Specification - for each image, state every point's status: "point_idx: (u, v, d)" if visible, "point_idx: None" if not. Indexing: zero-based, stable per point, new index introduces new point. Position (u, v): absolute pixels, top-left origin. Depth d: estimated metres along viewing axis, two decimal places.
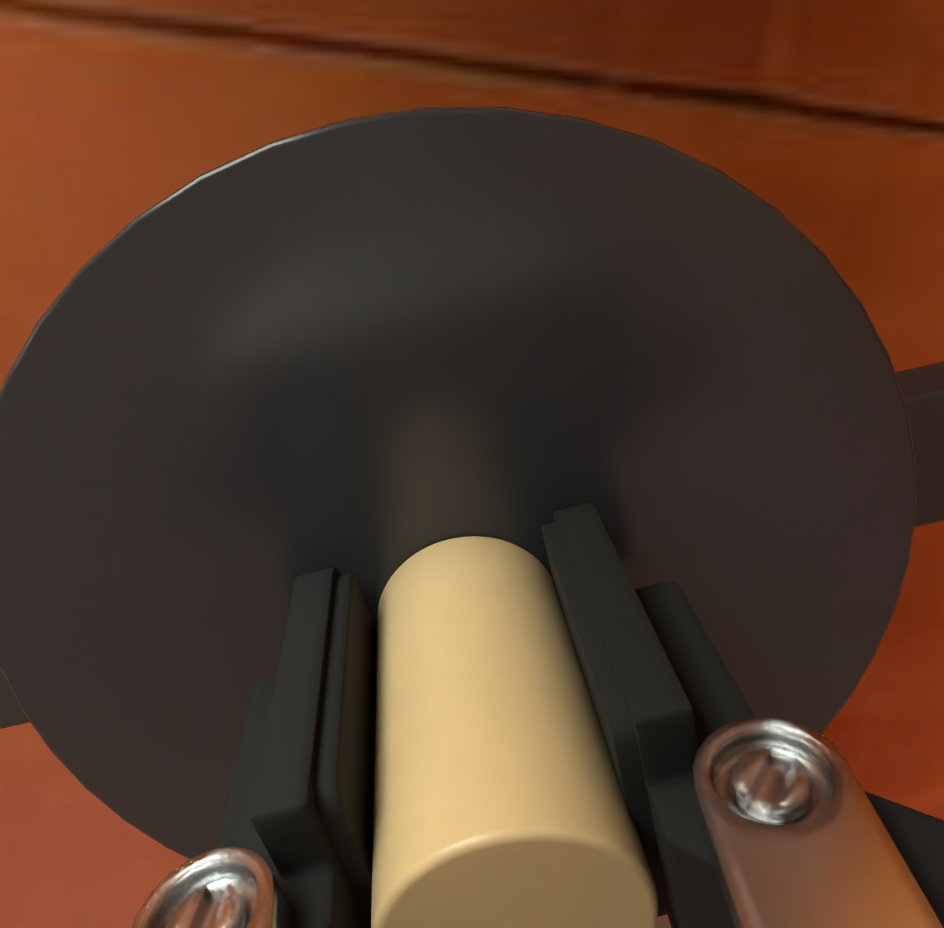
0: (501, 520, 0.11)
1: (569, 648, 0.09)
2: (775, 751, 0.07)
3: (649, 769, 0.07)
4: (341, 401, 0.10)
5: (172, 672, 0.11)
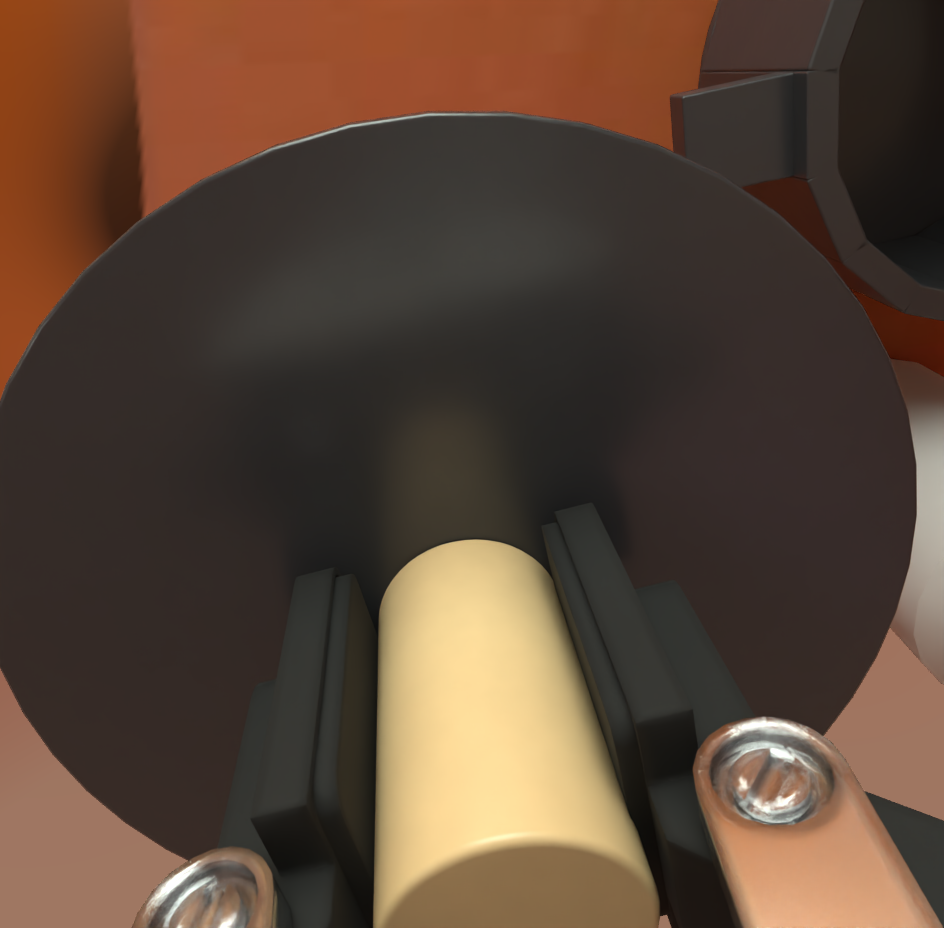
0: (502, 523, 0.11)
1: (570, 652, 0.09)
2: (775, 751, 0.07)
3: (649, 769, 0.07)
4: (342, 405, 0.10)
5: (173, 675, 0.11)
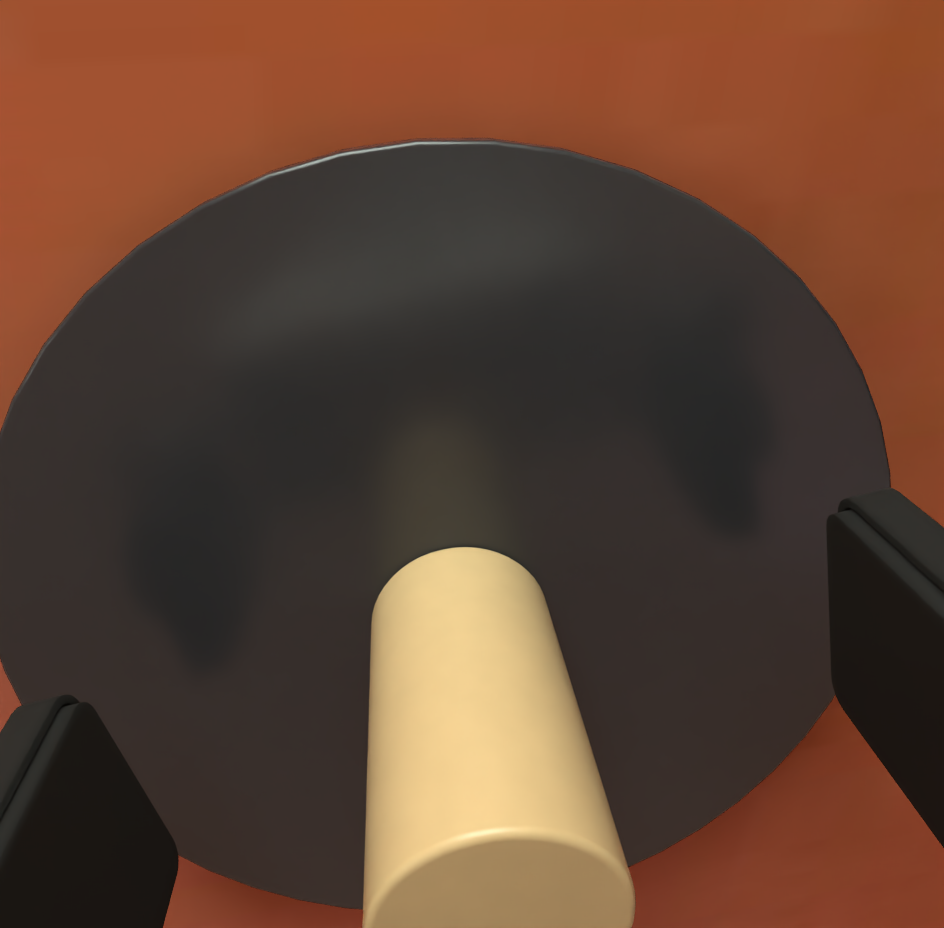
0: (490, 531, 0.11)
1: (555, 655, 0.10)
2: None
3: None
4: (336, 418, 0.10)
5: (173, 679, 0.12)
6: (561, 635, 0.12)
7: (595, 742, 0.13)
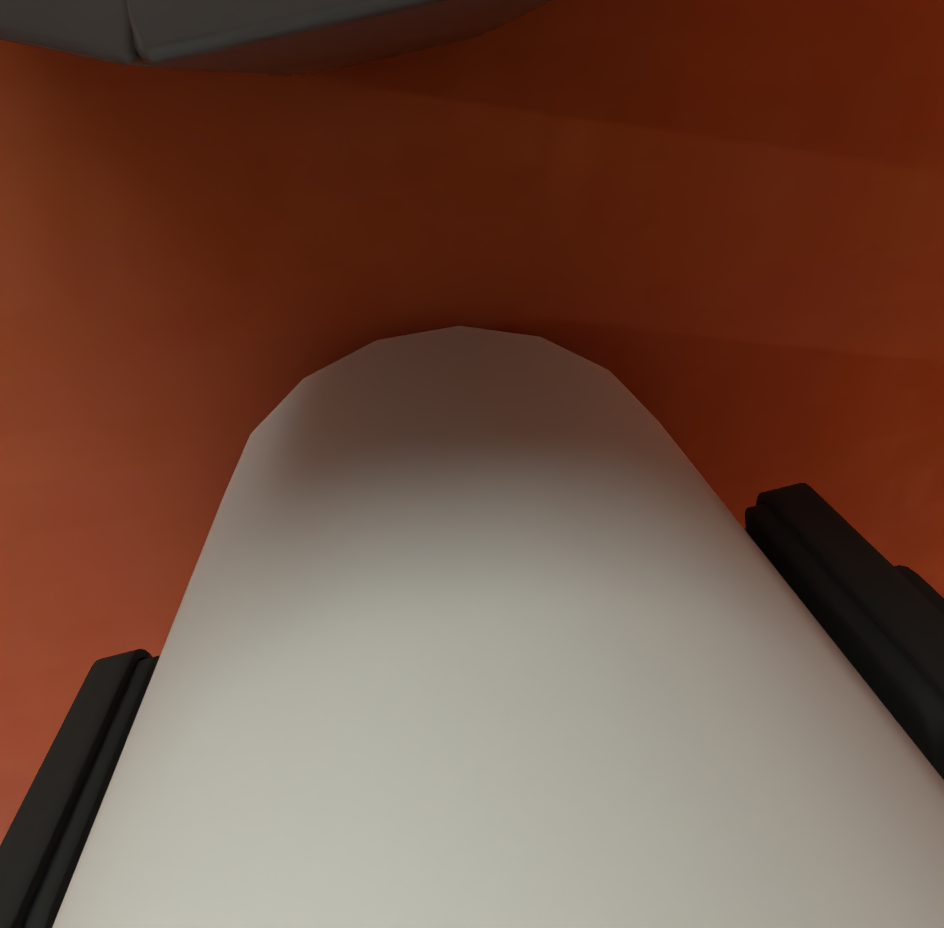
0: None
1: None
2: None
3: None
4: None
5: None
6: None
7: None
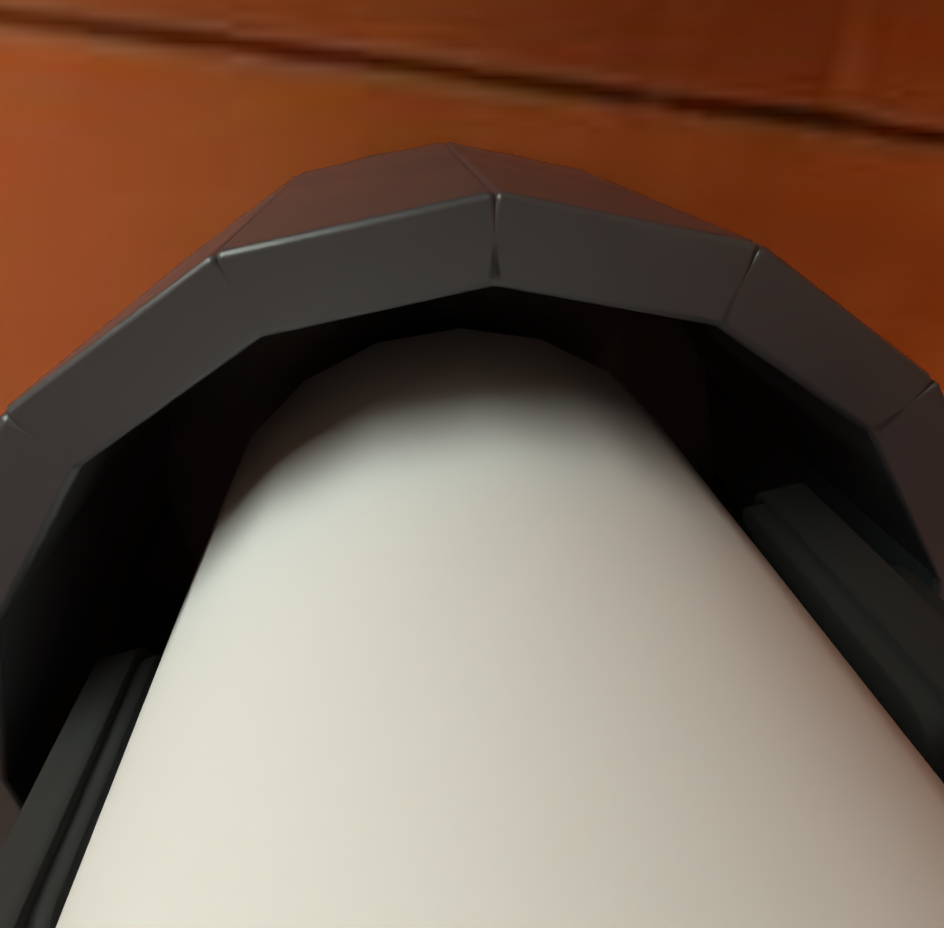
0: None
1: None
2: None
3: None
4: None
5: None
6: None
7: None
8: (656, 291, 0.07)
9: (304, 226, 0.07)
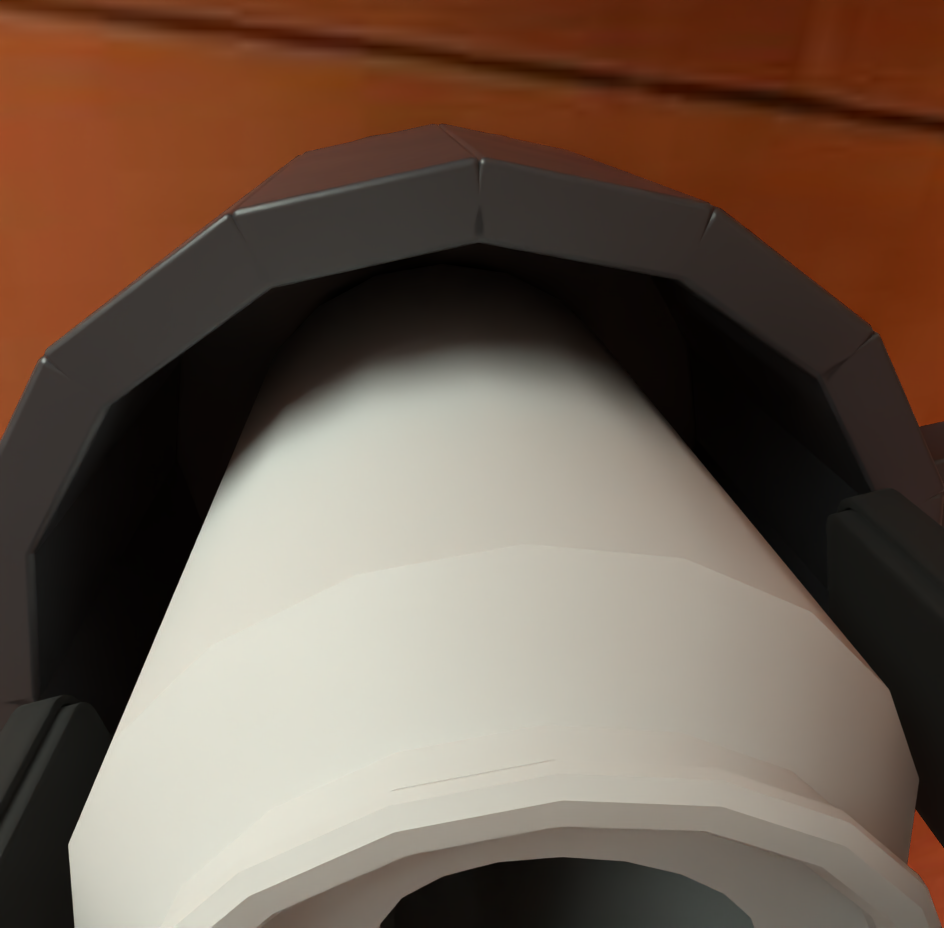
0: None
1: None
2: None
3: None
4: None
5: None
6: None
7: None
8: (623, 248, 0.08)
9: (310, 189, 0.08)
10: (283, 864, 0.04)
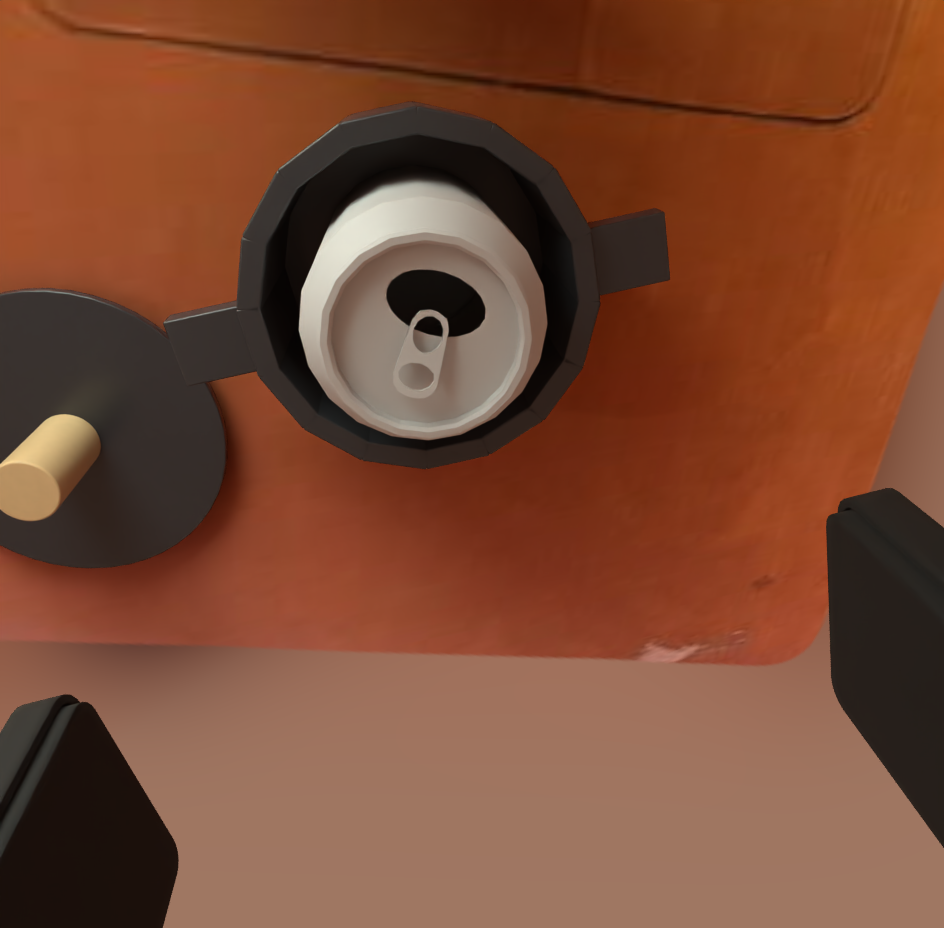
0: (73, 409, 0.34)
1: (74, 441, 0.32)
2: None
3: None
4: (13, 370, 0.33)
5: None
6: (108, 448, 0.35)
7: (134, 492, 0.36)
8: (464, 136, 0.25)
9: (363, 116, 0.24)
10: (366, 247, 0.21)
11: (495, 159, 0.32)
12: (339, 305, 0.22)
